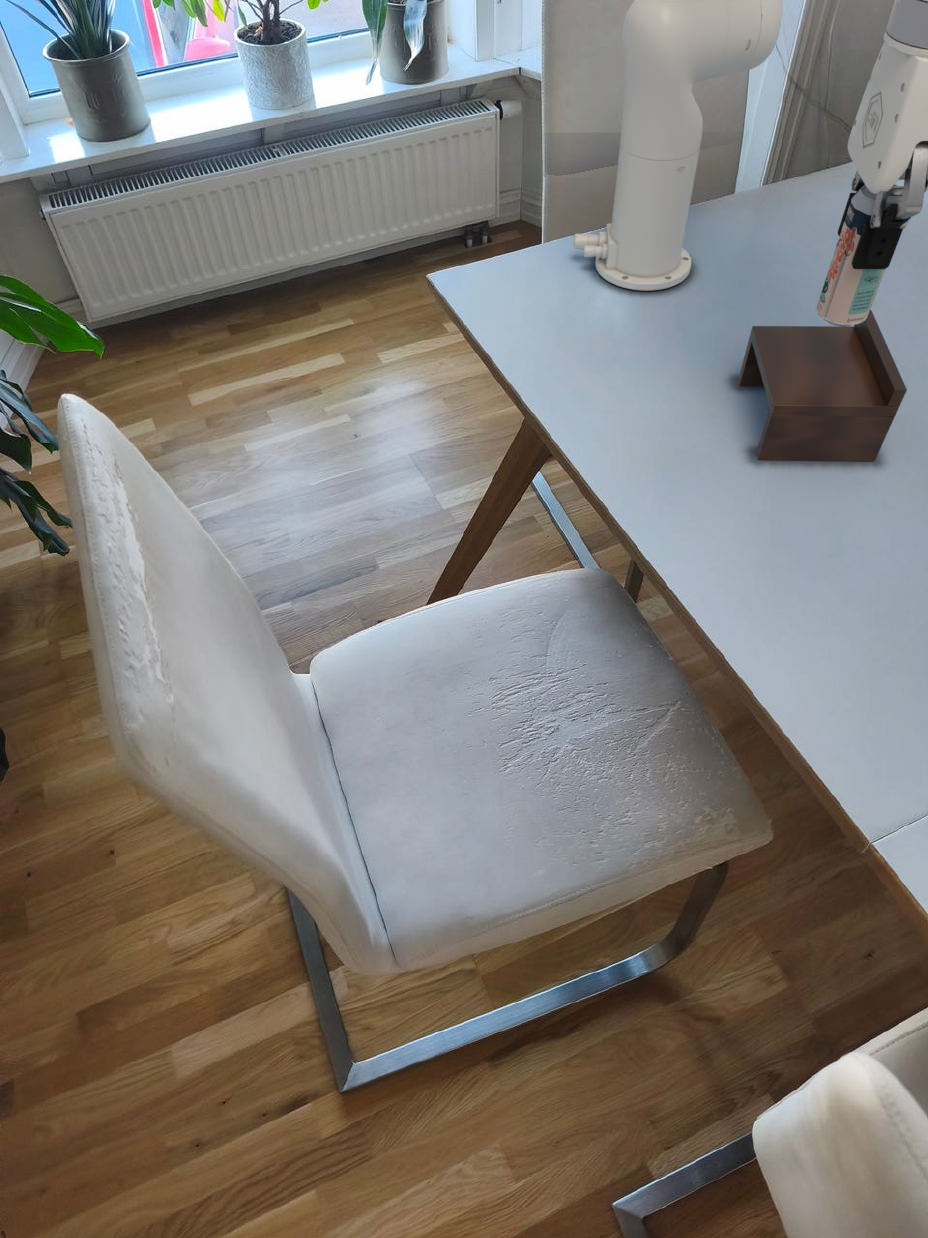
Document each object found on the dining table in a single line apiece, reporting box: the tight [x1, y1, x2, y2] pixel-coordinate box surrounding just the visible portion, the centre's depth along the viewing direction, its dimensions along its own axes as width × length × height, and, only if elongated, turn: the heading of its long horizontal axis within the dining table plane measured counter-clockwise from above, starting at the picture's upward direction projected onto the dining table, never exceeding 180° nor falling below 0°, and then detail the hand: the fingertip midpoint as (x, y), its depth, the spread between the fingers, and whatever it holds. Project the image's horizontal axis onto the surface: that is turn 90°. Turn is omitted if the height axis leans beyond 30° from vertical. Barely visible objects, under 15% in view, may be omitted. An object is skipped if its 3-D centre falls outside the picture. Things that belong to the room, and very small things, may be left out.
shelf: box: [737, 309, 908, 463], centre depth 90 cm, size 12×14×9 cm
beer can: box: [816, 183, 902, 326], centre depth 79 cm, size 5×5×12 cm
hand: (862, 249), depth 78 cm, fingers closed on beer can, 4 cm apart
